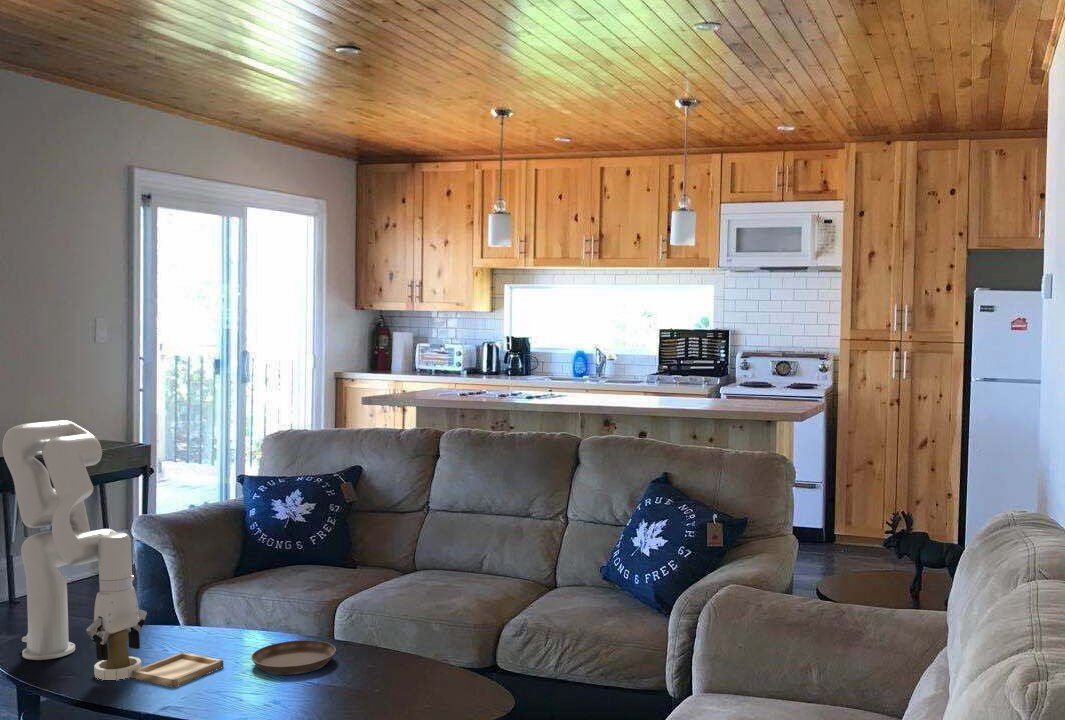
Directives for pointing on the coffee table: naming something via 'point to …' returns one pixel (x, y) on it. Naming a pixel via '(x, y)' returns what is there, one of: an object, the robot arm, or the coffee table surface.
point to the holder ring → (116, 670)
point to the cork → (117, 650)
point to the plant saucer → (293, 657)
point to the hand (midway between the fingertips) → (118, 653)
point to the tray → (177, 669)
